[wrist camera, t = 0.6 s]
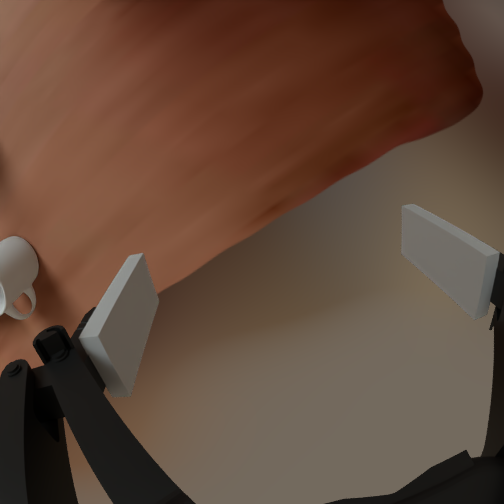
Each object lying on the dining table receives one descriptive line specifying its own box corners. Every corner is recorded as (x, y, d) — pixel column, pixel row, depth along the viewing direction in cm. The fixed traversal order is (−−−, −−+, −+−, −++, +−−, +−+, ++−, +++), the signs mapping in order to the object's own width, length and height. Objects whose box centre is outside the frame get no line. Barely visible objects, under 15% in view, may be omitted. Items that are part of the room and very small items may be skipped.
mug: (31, 306, 44) (1, 342, 34) (-5, 248, 40) (-43, 275, 30) (60, 288, 43) (30, 326, 34) (22, 225, 39) (-18, 250, 29)
